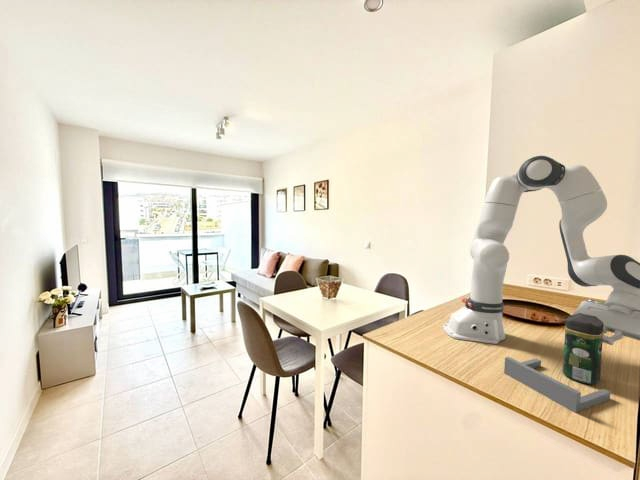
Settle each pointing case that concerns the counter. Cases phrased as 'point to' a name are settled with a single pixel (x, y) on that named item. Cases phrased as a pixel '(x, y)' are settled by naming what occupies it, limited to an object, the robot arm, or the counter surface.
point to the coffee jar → (583, 348)
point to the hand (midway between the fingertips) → (604, 342)
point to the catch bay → (552, 385)
